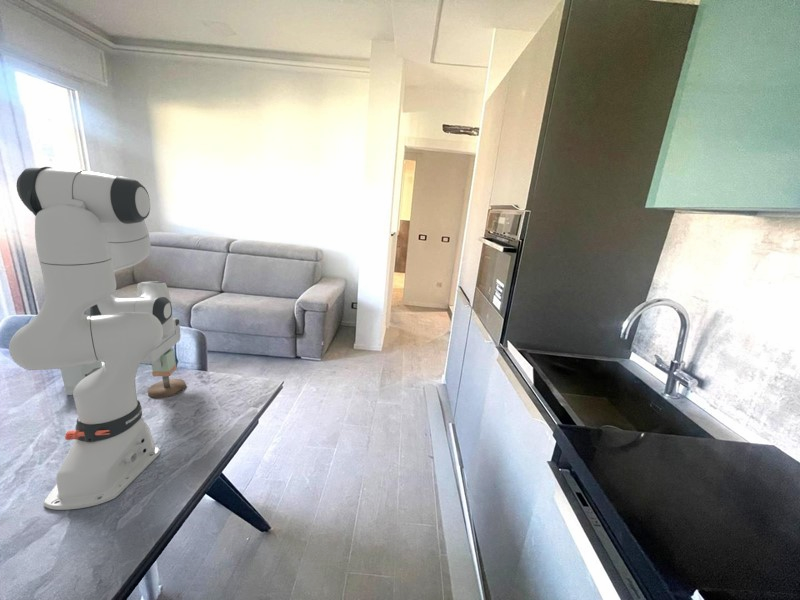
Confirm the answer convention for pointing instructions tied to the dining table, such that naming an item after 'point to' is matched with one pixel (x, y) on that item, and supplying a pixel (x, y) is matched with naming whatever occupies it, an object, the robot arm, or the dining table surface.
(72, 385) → the supplement box
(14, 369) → the dining table surface
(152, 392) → the pin base
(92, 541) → the dining table surface
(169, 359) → the sleeve
